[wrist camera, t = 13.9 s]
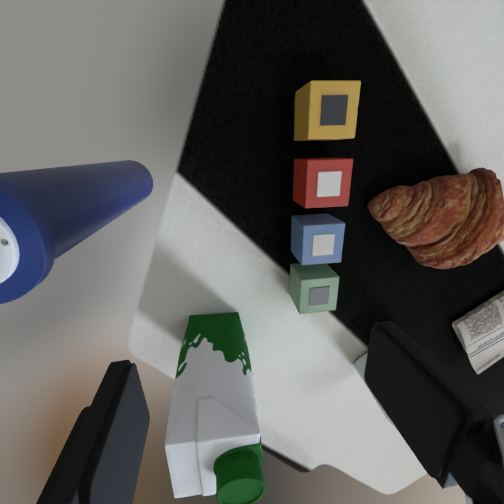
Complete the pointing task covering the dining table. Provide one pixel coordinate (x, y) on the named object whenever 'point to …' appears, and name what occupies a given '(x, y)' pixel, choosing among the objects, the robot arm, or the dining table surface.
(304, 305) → the sage block
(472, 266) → the dining table surface
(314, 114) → the mustard block
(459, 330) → the newspaper
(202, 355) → the milk carton
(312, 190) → the red block
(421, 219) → the pastry
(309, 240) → the blue block
